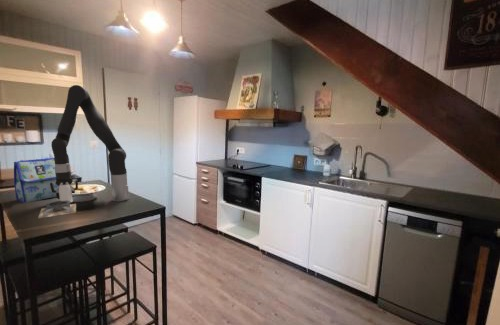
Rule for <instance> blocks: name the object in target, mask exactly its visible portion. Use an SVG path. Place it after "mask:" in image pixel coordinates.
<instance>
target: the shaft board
mask: <svg viewBox="0 0 500 325" xmlns="http://www.w3.org/2000/svg"><path fill="white" fill-rule="evenodd" d="M70 208H72V212H70V213H65V212H63V211H57V212H54V213H52V214H51V215H49V216H43V213H42V212H44V211H46V210H47V207H42V208H41V210H40V212H39V215H38V218H37V219H43V218H48V217H49V218H50V217H55V216H62V215H69V214H75V213H77V203H72V204H71V203H70Z"/></svg>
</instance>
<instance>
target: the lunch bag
mask: <svg viewBox="0 0 500 325" xmlns="http://www.w3.org/2000/svg"><path fill="white" fill-rule="evenodd" d="M13 181H14V182H13V185H14V192H15V199H16V200H17V201H18V202H21V203H23V204H25V203H32V202H36V201H42V200H46V199H51V198H52V199H53V198H57V197H56V193H52V190H51V186H50V183H51V182H56V174H55V161H54V157H48V158H40V159H39V158H38V159H37V158H36V159H25V160H23V159H21V160H18V161H14V162H13ZM57 188H58V185H57V184H55V185H54V190H57Z"/></svg>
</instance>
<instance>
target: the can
mask: <svg viewBox="0 0 500 325" xmlns="http://www.w3.org/2000/svg"><path fill="white" fill-rule="evenodd" d="M58 187H59V186H58ZM71 194H72V190H71V188H70V185H69V184H65V185H60V187H59V198H60V199H59V201H70V203H73V201H74V197H72V195H71Z"/></svg>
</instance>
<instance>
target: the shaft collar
mask: <svg viewBox="0 0 500 325" xmlns="http://www.w3.org/2000/svg"><path fill="white" fill-rule="evenodd" d="M70 204H71V202H70V201H60V200H57V201H53V202H49V203H47V204H46V205H45V206H46V207H45V208H47V210H46V211H44V212H42V213H43V216H49V215H51V214H52V213H54V212H57V211H63V212H65V213H70V212H72V208H70ZM70 214H71V213H70Z"/></svg>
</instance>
